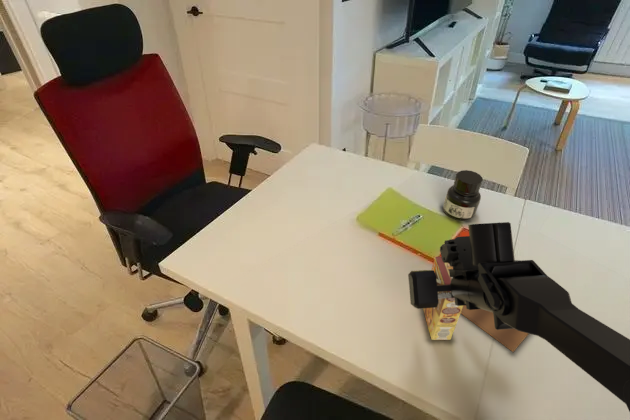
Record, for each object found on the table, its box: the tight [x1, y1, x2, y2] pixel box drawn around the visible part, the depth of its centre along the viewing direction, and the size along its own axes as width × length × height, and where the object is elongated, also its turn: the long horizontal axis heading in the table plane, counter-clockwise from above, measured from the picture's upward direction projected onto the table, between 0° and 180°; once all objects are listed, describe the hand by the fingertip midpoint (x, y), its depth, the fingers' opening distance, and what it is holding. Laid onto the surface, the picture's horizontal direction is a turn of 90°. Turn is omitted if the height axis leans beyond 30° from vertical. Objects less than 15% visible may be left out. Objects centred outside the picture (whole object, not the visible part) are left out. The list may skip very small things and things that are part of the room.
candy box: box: [422, 256, 464, 341], centre depth 74 cm, size 9×4×15 cm, turn 1°
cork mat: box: [460, 305, 530, 353], centre depth 80 cm, size 16×10×1 cm, turn 40°
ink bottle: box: [442, 169, 484, 222], centre depth 103 cm, size 10×9×12 cm
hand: (444, 282), depth 72 cm, fingers open, 9 cm apart
